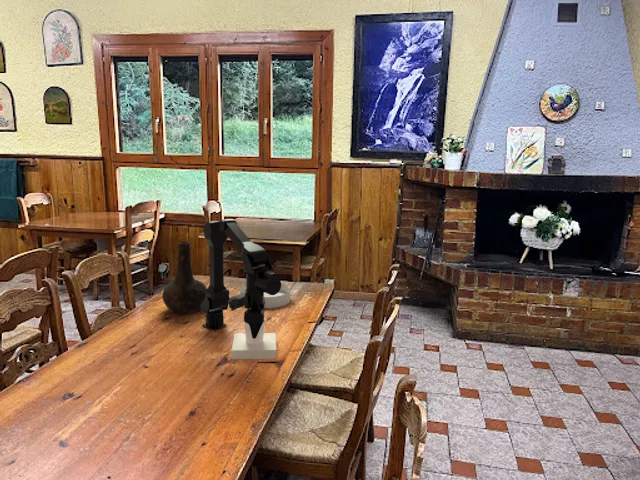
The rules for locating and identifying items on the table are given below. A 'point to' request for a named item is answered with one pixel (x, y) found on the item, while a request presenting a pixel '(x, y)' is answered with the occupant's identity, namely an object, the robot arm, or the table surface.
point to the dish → (275, 297)
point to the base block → (254, 347)
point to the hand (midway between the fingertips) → (254, 332)
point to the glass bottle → (184, 285)
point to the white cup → (249, 336)
